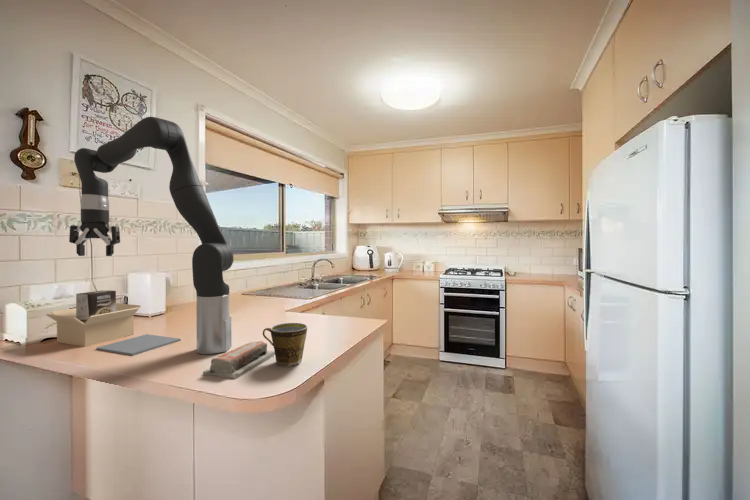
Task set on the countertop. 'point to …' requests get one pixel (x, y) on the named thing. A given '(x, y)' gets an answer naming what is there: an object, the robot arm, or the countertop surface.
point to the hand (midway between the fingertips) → (95, 255)
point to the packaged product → (239, 360)
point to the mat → (138, 344)
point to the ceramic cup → (288, 342)
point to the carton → (94, 325)
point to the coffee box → (94, 304)
